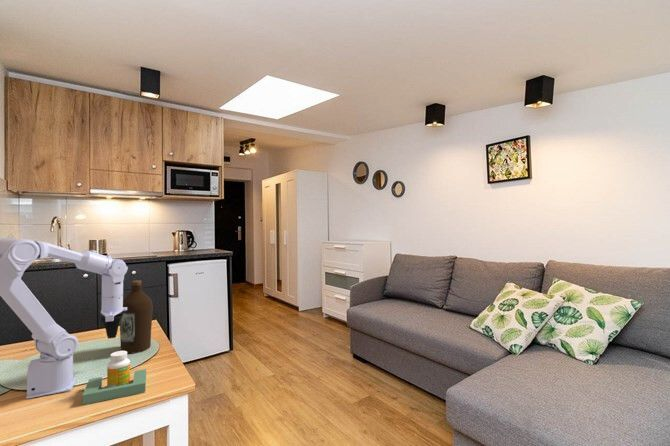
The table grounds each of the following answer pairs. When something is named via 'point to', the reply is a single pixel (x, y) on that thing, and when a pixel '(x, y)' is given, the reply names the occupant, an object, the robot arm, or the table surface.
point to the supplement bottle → (118, 369)
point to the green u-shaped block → (113, 389)
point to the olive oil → (136, 320)
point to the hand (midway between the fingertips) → (112, 337)
